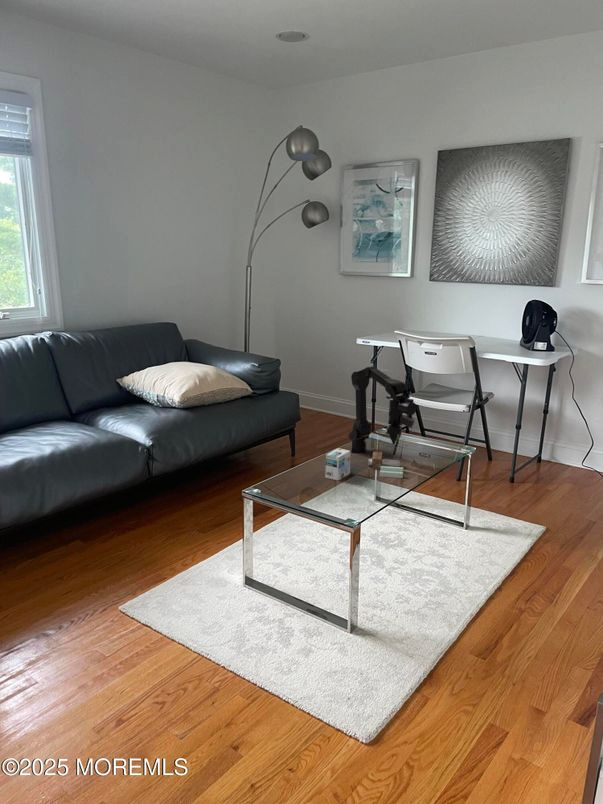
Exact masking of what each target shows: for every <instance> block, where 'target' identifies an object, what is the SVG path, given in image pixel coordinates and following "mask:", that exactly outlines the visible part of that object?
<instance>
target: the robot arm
mask: <svg viewBox="0 0 603 804" xmlns="http://www.w3.org/2000/svg"><path fill="white" fill-rule="evenodd" d="M350 377H351V378H350V379H351V385H352V387H353V388H354V390H355V417H356V418H355V421H354V423H353V425H352V431H350V433H349V434H348V440H351V450H350V451H351V453H359V454H365V453H366V452H367V441H366V439H368V440H369V437H370V435H371V434H372V433H371V432H372V431H373V430H372V423H371V422H369V420H368V419H367V414H368V413H367V389H368V387H369V384H370V380H371V379H372V380H373V381H375V382H377V383H379V384H380V385H381V386H382V387H383V388H384V390H385V392H386V393H387V396H386V399H388V400H389V402H388V403H389V405H388V408H389V409H388V423H387V424H388V426H387V428H386V434H388V435H389V437H390V441H391V443H392V445H395V444H396V443H397V440H398V439H397V438H398V435H401V434H402V430H403V425H404V426H406V427H408V428H409V429H410V428H411V429H412V428H413V425H414V424H415V418H414V417H413V415H414V414H416V412H417V409H418V407H417V404H416V403H415V402H414V399H412V398H411V396H410V393H409V392H408V390H407V386H406V384H405V383H404V382H403V381H401V380H398V379H394V378H392V377H390V376H389V375H387V374H385V373H384V372H382V371H381V370H379V368H377V367H376V366H374V365H373V366H367V367H365V368H362V369H361V370H357V371H354V372H352V374H351V376H350ZM404 414H405V415H404Z"/></svg>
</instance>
